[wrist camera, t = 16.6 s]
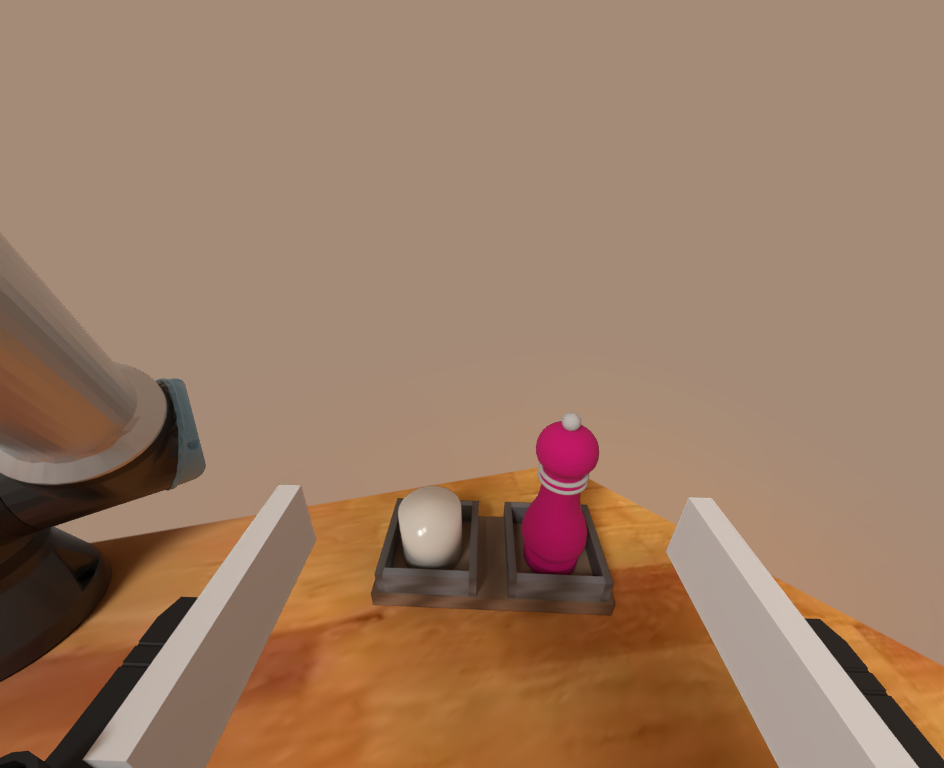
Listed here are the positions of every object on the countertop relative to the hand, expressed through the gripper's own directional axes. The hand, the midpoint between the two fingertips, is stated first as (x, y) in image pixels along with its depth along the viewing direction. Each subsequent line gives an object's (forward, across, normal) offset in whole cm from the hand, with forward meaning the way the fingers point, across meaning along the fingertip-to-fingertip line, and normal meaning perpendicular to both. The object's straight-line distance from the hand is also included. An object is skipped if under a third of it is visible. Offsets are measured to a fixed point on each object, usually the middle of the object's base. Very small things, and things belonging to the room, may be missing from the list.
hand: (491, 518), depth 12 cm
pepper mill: (+19, +9, -28) cm, 35 cm away
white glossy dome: (+19, -5, -28) cm, 34 cm away
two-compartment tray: (+19, +2, -30) cm, 35 cm away
